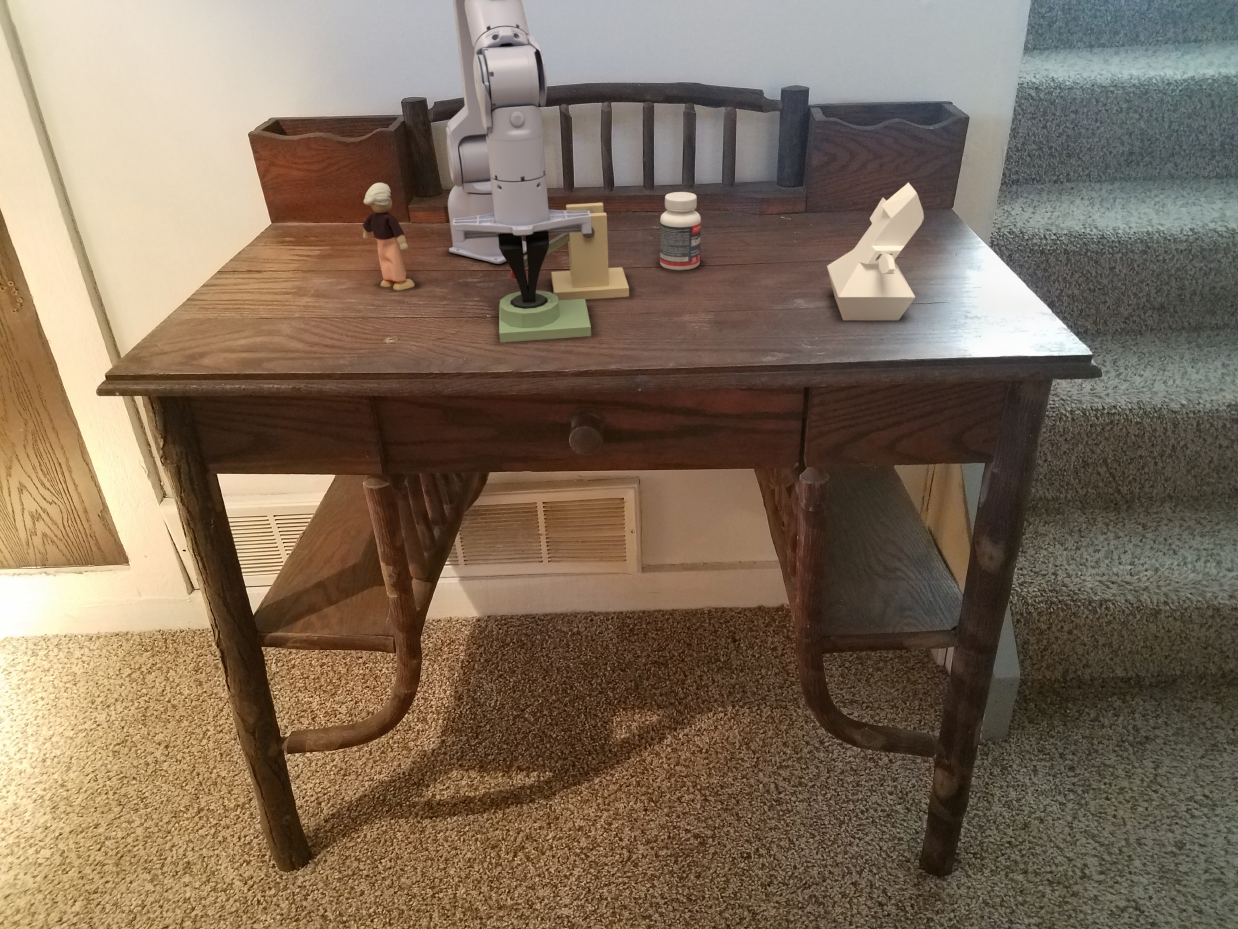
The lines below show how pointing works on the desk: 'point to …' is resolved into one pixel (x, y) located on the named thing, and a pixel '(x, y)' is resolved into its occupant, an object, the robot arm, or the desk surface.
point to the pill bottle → (680, 232)
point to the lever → (553, 244)
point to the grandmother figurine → (386, 237)
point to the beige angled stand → (878, 262)
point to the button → (519, 302)
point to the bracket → (589, 263)
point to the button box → (543, 319)
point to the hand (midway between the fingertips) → (529, 299)
